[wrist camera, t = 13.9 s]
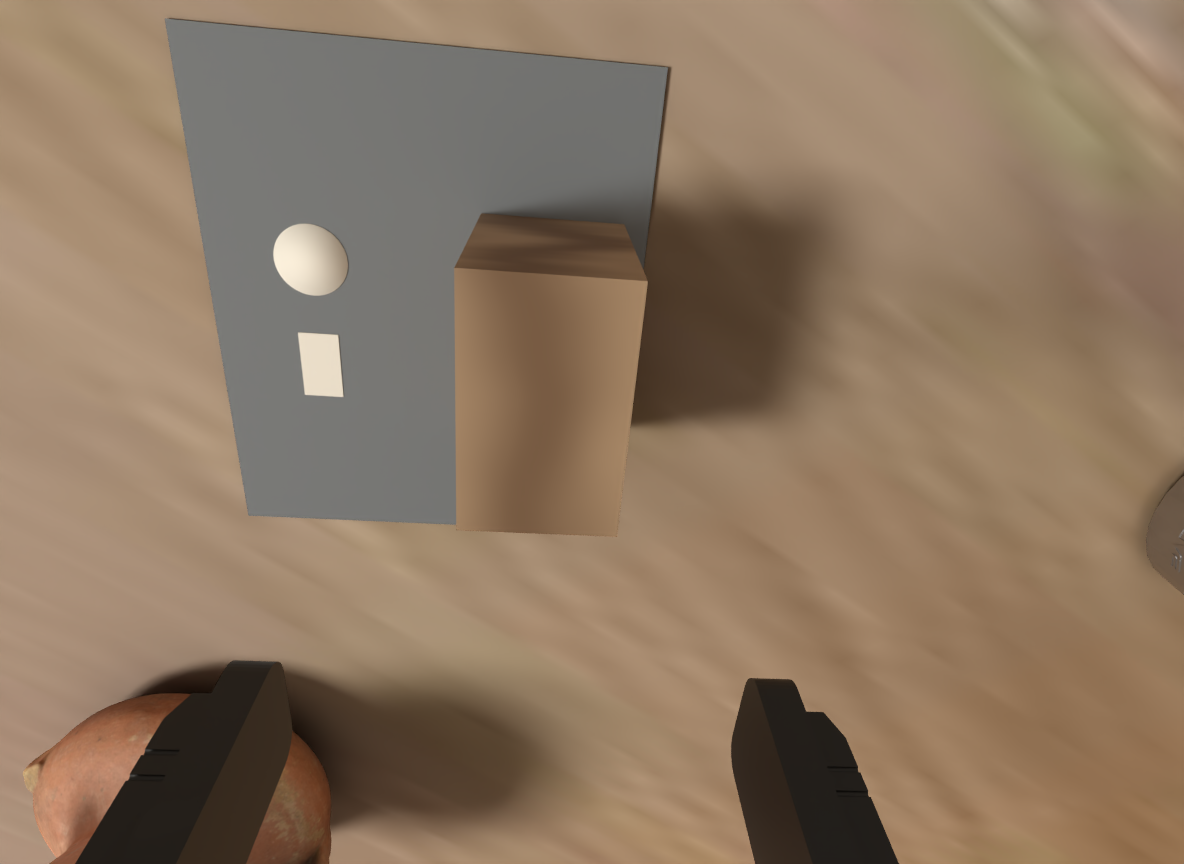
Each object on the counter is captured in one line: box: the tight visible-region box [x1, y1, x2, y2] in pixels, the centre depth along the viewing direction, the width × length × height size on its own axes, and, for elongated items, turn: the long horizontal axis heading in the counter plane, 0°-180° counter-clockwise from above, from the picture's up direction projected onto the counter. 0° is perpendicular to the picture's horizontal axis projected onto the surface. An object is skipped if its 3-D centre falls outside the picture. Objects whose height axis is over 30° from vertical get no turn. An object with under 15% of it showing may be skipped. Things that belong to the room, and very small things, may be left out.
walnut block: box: [454, 213, 648, 537], centre depth 26 cm, size 6×9×8 cm, turn 175°
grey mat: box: [165, 19, 668, 525], centre depth 29 cm, size 17×20×1 cm
